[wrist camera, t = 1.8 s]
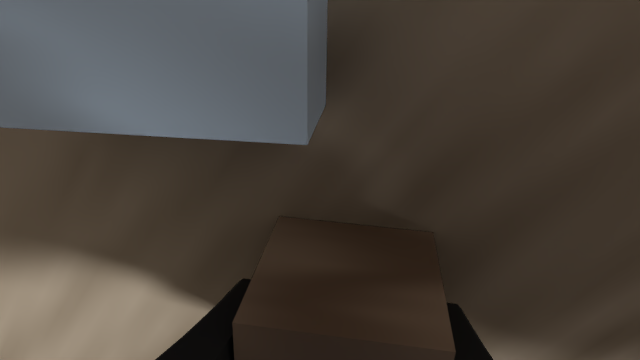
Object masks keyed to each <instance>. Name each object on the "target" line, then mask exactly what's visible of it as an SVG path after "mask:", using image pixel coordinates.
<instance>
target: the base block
mask: <svg viewBox="0 0 640 360" xmlns="http://www.w3.org/2000/svg"><path fill="white" fill-rule="evenodd" d="M327 9H328V0H0V127H2V128H19V129H37V130H54V131H72V132H89V133H106V134H124V135H141V136H159V137H176V138H194V139H211V140H228V141H246V142H263V143H281V144H298V145H308V143H309V140H310V138H311V136H312V134H313V132H314V130H315V127H316V125H317V123H318V121H319V119H320V117H321V114H322V112H323V110H324V108H325V106H326V66H327Z"/></svg>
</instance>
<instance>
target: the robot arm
mask: <svg viewBox="0 0 640 360" xmlns="http://www.w3.org/2000/svg"><path fill="white" fill-rule="evenodd" d="M250 281H251V280H250V279H242V280H241V281H239V282H238V283H237V284H236V285H235V286H234V287H233V288H232V290H231V291H230V292H229V293H228V294H227V295H226V296H225V297H224V298H223V299H222V300H221V301H220V302H219V303H218V304H217V305H216V306H215V307H214V308H213V309H212V310H211V311H210V312H209V313H208V314H207V315H205V316H204V317H203V318H202V319H201V320H200V321H199V322H198V323H197V324H196V325H195V326H194V327H193V328H191V329H190V330H189V331H188V332H187V333H186V334H185V335H184V336H183V337H182V338H180V339H179V340H178V341H177V342H176V343H175V344H173V345H172V346H171V347H170V348H169V349H167V350H166V351H165V352H164V353H163V354H162V355H160V356H159V357H158V358H157V359H156V360H234V347H233V327H232V322H233V320H234V318H235V316H236V313H237V311H238V309H239V306H240V304H241V302H242V300H243V297H244V295H245V293H246V291H247V288H248V286H249V284H250ZM447 308H448V314H449V319H450V324H451V329H452V335H453V340H454V345H455V350H456V353H455V358H454V360H493V358H492V357H491V355H490V354H489V353H488V351H487V349H486V348H485V346H484V345H483V343H482V342H481V340H480V339H479V337H478V336H477V334H476V332H475V331H474V329H473V328H472V326H471V324H470V323H469V321H468V319H467V318H466V316H465V314H464V313H463V311H462V309H461V308H460V307H459V305H458V304H452V303H447Z"/></svg>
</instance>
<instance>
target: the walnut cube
mask: <svg viewBox="0 0 640 360" xmlns="http://www.w3.org/2000/svg"><path fill="white" fill-rule="evenodd" d="M232 327H233V347H234V360H454V358H455V353H456V350H455V345H454V340H453V335H452V329H451V324H450V319H449V314H448V308H447V303H446V298H445V293H444V287H443V282H442V277H441V272H440V266H439V261H438V256H437V251H436V245H435V240H434V235H433V232H423V231H414V230H404V229H395V228H385V227H376V226H366V225H357V224H347V223H338V222H328V221H319V220H309V219H300V218H290V217H281V216H279V218H278V220H277V222H276V225H275V227H274V229H273V231H272V234H271V236H270V238H269V241H268V243H267V245H266V247H265V250H264V252H263V254H262V256H261V259H260V261H259V263H258V266H257V268H256V270H255V272H254V275H253V277H252V279H251V281H250V284H249V286H248V288H247V291H246V293H245V295H244V297H243V300H242V302H241V304H240V306H239V309H238V311H237V313H236V316H235V318H234V320H233V322H232Z"/></svg>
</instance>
